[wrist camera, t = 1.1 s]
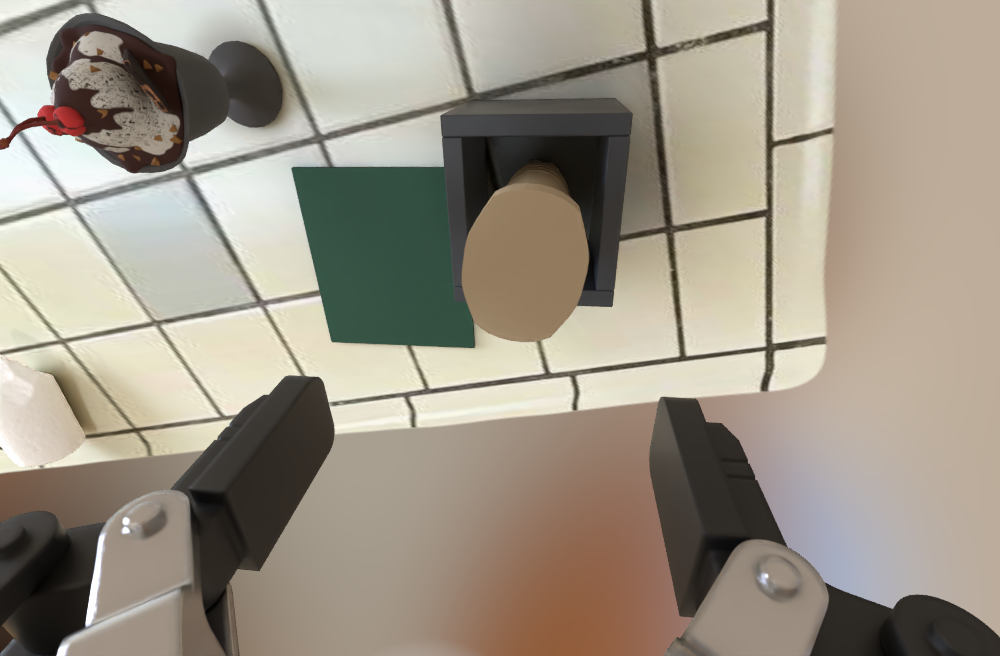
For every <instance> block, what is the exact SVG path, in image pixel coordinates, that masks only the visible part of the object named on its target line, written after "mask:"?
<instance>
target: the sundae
mask: <svg viewBox="0 0 1000 656" xmlns="http://www.w3.org/2000/svg"><path fill="white" fill-rule="evenodd" d="M46 62H47V75H48V79H49V83H50V87H51V90H52V92H51V105H45V106H43V107H42V108H41V109H40V110H39V112H38V117H36V118H29V119H27V120H25V121H23V122H22V123H20V124H18V125H17V126H16V127H15V128H14V129H13V131H12V132H11V134H10V136H9V137H7V138H6V139H5V138H2V139H1V140H0V150H2V149H5V148H8V147H9V144H10V142H11V141H12V139H13V138H14V137H15V136H16V135H17V134H18V133H19V132H20V131H22V130H24V129H27V128H30V127H37V126H42V127H43V128H45V129H46V130H47V131H48V132H50V133H51V134H53V135H59V136H62V135H71V136H74V137H75V140H76V141H79V142H82V143H86V144H87V145H89V146H92V147H93V148H94V149H95V150H97V151H98V152H99V153H100V154H101V155H102V156H103V157H105V158H106V159H107V160H109V161H110V162H111V163H113V164H115V165H117V166H119V167H122V168H124V169H126V170H127V171H128V172H130V173H155V172H163V171H166V170H169V169H172V168H174V167H175V166H177V165H178V164H180V163H181V162H182V160H183V159H184V158H185V156H186V152H187V149H188V144H189V141H192V140H194V139H196V138H198V137H200V136H203V135H205V134H207V133H208V132H210V131H211V130H212V129H214V128H215V127H217V126H218V125H220V124H221V123H223V122H224V121H225V119H226V117H227V116H228V117H229V118H231V119H232V120H234V121H235V122H237V123H239V124H241V125H244V126H248V127H262V126H265V125H267V124H269V123H270V122H271V121H273V120H274V119H275V117H276V116H277V114H278V112H279V110H280V108H281V102H282V89H281V85H280V81H279V78H278V75H277V73H276V71H275V69H274V67H273V66H272V64H271V63H270V61H269V60H268V59H267V58H266V57H265V56H264V55H263V54H262V53H261V52H260V51H259V50H257V49H256V48H255V47H253V46H251V45H248V44H246V43H243V42H239V41H230V42H225V43H223V44H221V45H219V46H218V47H217V48H216V49H215V50H213V52H212V54H211V56H210V58H209V61H208V60H207V59H205V58H204V57H203V56H201V55H198V54H196V53H193V52H190V51H188V50H185V49H182V48H179V47H176V46H172V45H167V44H163V43H158V42H154V41H152V40H151V39H149V38H148V37H147V36H145V35H144V34H142V33H140V32H139V31H137V30H136V29H134V28H132V27H131V26H129V25H127V24H125V23H123V22H120V21H118V20H116V19H113V18H110V17H107V16H104V15H101V14H96V13H85V14H80V15H76V16H75V17H73V18H72V19H70V20H69V21H68V22H67V23H65V24H64V25H63V26H62V27H61V29H60V30H59V31H58V32H57V33H56V34H55V36H54V38H53V40H52V42H51V44H50V47H49V51H48V55H47V58H46ZM35 122H36V123H35Z"/></svg>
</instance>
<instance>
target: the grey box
mask: <svg viewBox="0 0 1000 656" xmlns="http://www.w3.org/2000/svg"><path fill="white" fill-rule="evenodd" d="M632 116H633V114H632V112H630V111H629V110H628V109H627V108H626V107H625V106H624V105H623V104H621V103H620V102H619V101H618V100H617V99H616V98H598V99H535V100H472V101H468V102H466V103H464V104H462V105H460V106H458V107H456V108H454V109H452V110H450V111H448V112H447V113H445V114H443V115H441V130H442V136H443V138H442V143H443V156H444V169H445V182H446V194H447V207H448V220H449V233H450V246H451V258H452V271H453V284H454V297H455V302H467V301H466V298H465V296H464V292H463V287H462V266H463V258H464V249H465V245H466V241H467V237H468V234H469V232H470V230H471V228H472V226H473V224H474V223H475V221H476V219H477V218H478V216H479V215H480V213H481V212H482V210H483V208H484V207H485V206H486V204H487V203H488V192H487V164H486V137H527V136H597V140H596V154H595V168H594V182H593V195H592V209H591V223H590V237H589V242H587V243H588V250H589V263H588V270H587V274H586V278H585V282H584V286H583V290H582V293H581V296H580V299H579V301H578V304H577V306H599V307H612V306H613V297H614V287H615V278H616V268H617V259H618V249H619V240H620V230H621V221H622V211H623V202H624V192H625V182H626V173H627V163H628V154H629V144H630V136H629V135H630V134H631V125H632Z"/></svg>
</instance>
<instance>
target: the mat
mask: <svg viewBox="0 0 1000 656" xmlns="http://www.w3.org/2000/svg"><path fill="white" fill-rule="evenodd" d="M292 173H293V177H294V181H295V186H296V190H297V194H298V199H299V203H300V207H301V212H302V216H303V220H304V225H305V229H306V233H307V238H308V242H309V246H310V251H311V255H312V259H313V263H314V268H315V272H316V276H317V281H318V285H319V289H320V294H321V298H322V302H323V307H324V311H325V315H326V320H327V324H328V328H329V333H330V337H331V341H332V342H342V343H366V344H390V345H414V346H438V347H462V348H474V347H475V343H474V326H473V317H472V315H471V312H470V310H469V307H468V304H467V302H455V297H454V284H453V271H452V258H451V246H450V233H449V220H448V207H447V194H446V182H445V169H444V167H293V168H292Z"/></svg>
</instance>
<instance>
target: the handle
mask: <svg viewBox="0 0 1000 656" xmlns="http://www.w3.org/2000/svg"><path fill="white" fill-rule="evenodd" d="M558 169H559V168H558V166H557V165H556V164H555V163H554V162H549V163H546V162H541V161H538V160H537V159H532V160H530V161H528V163H527V164H526V165H524V166H523V167H521V168H520V169H519V170H518V171H516V173H515V174H514V175H513V176H512V178H511V179H510V181H509V182H508V184H507V186H506V187H503V188H501V189H499V190H497V191H495V193H494V194H493V195H492V197H491V198H490V200H489V201H488V203H487V204H486V206H485V207H484V208H483V210H482V212H481V213H480V215H479V216H478V218H477V219H476V221H475V223H474V224H473V226H472V228H471V230H470V232H469V234H468V237H467V241H466V245H465V249H464V258H463V266H462V287H463V292H464V296H465V298H466V301H467V304H468V307H469V310H470V312H471V315H472V317H473V320H474V323H476V324H477V325H478V326H479V327H480V328H482V329H483V330H485V331H486V332H488V333H489V334H492V335H494V336H497V337H499V338H503V339H507V340H511V341H519V342H534V341H539V340H543V339H546V338H549V337H551V336H552V335H553V334H554V333H555V332H556V331H557V329H558V328H559V327H560V326H561V325H562V324H563V323H564V322H565V321H566V319H567V318H568V317H569V316H570V315H571V313H572V312H573V310H574V309H575V308H576V306H577V304H578V301H579V299H580V296H581V293H582V290H583V286H584V282H585V278H586V274H587V270H588V263H589V250H588V243H587V238H586V233H585V228H584V224H583V219H582V215H581V211H580V207H579V205H578V204H577V203H576V202H575V201H574V200H573V199H571V198H570V194H569V189H568V186H567V183H566V180H565V178H564V176H563V175H562V173H561V172H560V171H559V170H558Z"/></svg>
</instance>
